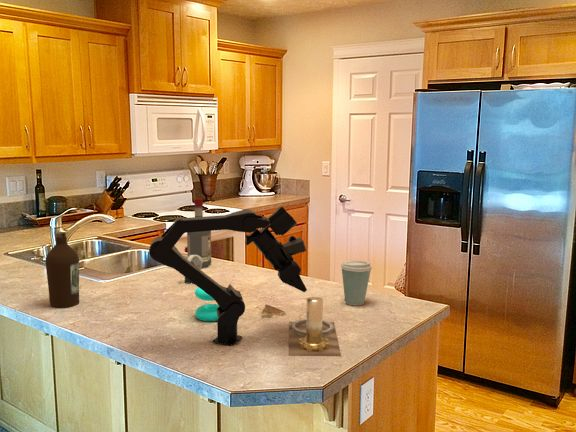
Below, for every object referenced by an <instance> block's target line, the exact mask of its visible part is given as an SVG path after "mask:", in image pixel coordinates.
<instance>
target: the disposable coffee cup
mask: <svg viewBox="0 0 576 432" xmlns="http://www.w3.org/2000/svg"><path fill="white" fill-rule="evenodd" d="M340 267H341V274H342V286H343V295H344V296H343V297H344V301H345V303H346V304H347V305H349V306H355V307H356V306H362V305H364V303H365V302H366V301H365V300H366V296H367V291H368V287H369V286H368V285H369V281H370V280H369V279H370V275H371V271H372V268H373V267H372V266H371V262H370V261H366V260H348V261H344V262H342V264H341V266H340Z"/></svg>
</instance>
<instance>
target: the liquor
mask: <svg viewBox="0 0 576 432" xmlns="http://www.w3.org/2000/svg"><path fill="white" fill-rule="evenodd" d="M193 202H194V217H204V213H203V212H204V209H203V207H204V202H203V198H200V197H199V198H194V201H193ZM186 234H187V236H186V239H187V240H186V241H187V243H186V245H187V249H186V250H187V251H186V252H187V258H188V257H189V256H190V255H198V256H200V257H201V258H202V259H203V263H202V267H201V269H205V268H206V267H207V268H208V267H210V266H211V264H212V231H202V232H188V233H186ZM191 263H192V264H193V265H194V263H193V262H192V261H191ZM209 265H210V266H209ZM207 268H206V269H207Z"/></svg>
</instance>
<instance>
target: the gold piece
mask: <svg viewBox="0 0 576 432" xmlns="http://www.w3.org/2000/svg"><path fill="white" fill-rule="evenodd" d="M323 303H324V299H323V297H320V296H310V297H306V318H305V319H306V336H305V338H300V339H299V348H300V349H301V350H302V349H304V350H307V352H312V351H318V352H323V350H325V349H329V340H328V339H327V338H322V320H323V315H324V314H323V311H324V310H323V308H324V307H323V306H324V305H323Z"/></svg>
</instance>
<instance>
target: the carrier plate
mask: <svg viewBox="0 0 576 432" xmlns="http://www.w3.org/2000/svg"><path fill="white" fill-rule="evenodd" d="M305 336H306V318H303V319H297V320H296V321H288V356H291V357H293V356H295V357H342V354H341V353H342V352H341V349H340V343H339V338H338V334H337V330H336V325H335V322H334V321H328V320H325V319H322V338H327V339H328V340H329V349H325V350H323V352H318V351H312V352H307V350H304V349H302V350H301V349H300V348H299V339H300V338H305Z"/></svg>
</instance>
